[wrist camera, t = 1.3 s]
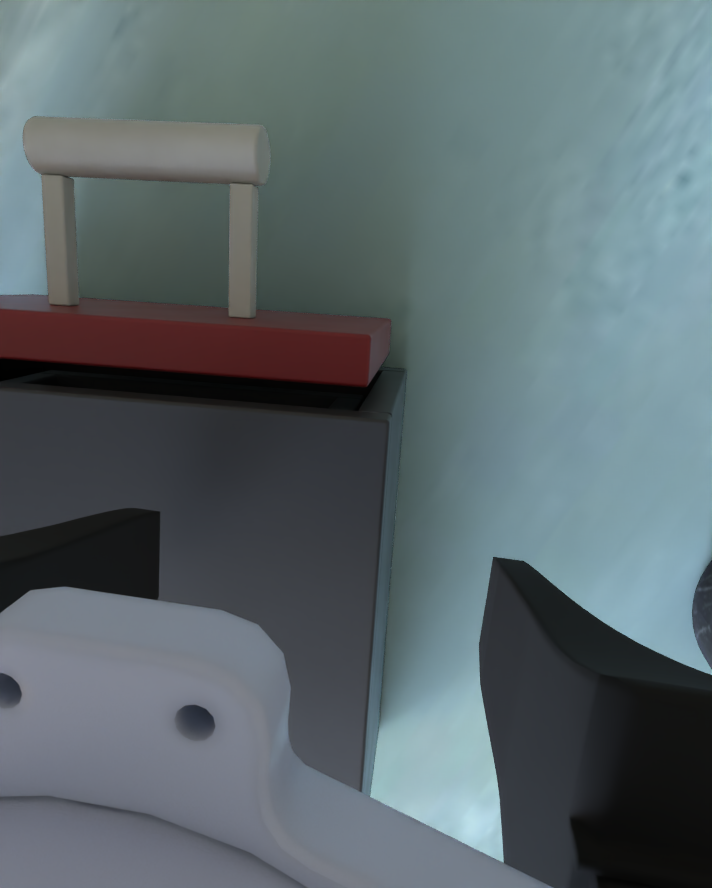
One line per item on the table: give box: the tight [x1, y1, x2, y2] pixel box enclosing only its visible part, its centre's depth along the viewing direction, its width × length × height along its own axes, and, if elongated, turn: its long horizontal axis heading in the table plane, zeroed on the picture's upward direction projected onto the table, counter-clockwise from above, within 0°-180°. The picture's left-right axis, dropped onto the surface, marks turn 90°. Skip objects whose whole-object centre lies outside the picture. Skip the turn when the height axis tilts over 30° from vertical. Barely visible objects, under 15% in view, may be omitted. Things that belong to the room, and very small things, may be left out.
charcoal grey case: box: [0, 359, 407, 797], centre depth 20 cm, size 15×14×9 cm
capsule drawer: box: [0, 116, 391, 411], centre depth 19 cm, size 18×12×7 cm
